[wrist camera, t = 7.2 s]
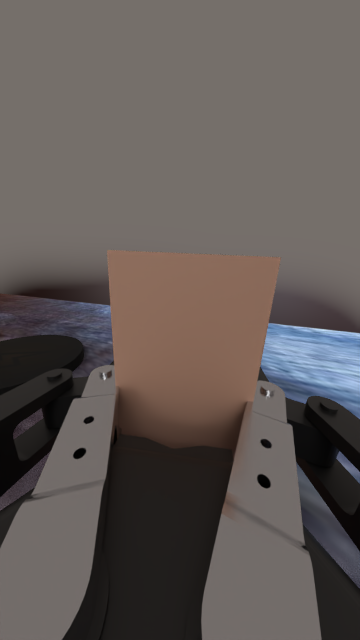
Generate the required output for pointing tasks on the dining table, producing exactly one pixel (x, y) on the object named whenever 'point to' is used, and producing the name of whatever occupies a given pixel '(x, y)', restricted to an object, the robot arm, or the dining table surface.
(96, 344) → the dining table surface
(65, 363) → the wireless charger
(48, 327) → the dining table surface
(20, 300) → the dining table surface
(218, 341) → the terracotta block
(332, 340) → the dining table surface
